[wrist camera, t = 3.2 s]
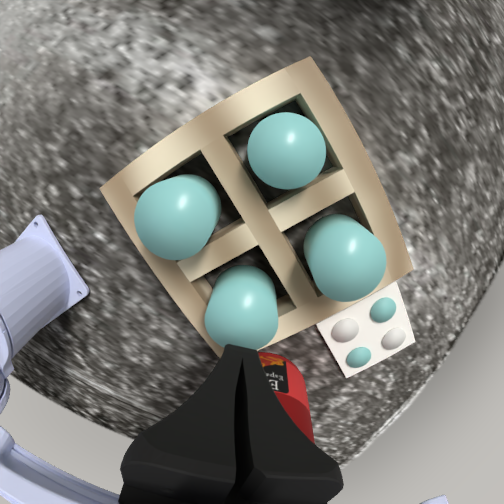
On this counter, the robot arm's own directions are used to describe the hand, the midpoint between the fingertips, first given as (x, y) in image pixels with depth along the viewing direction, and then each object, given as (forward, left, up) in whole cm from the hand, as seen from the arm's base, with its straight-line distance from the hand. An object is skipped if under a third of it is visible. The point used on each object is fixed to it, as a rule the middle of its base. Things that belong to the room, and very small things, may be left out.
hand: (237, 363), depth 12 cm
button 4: (+6, +6, -9) cm, 13 cm away
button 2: (0, +6, -7) cm, 10 cm away
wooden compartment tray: (+3, +3, -9) cm, 10 cm away
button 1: (0, 0, -7) cm, 7 cm away
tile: (+6, -10, -9) cm, 15 cm away
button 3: (+6, 0, -7) cm, 10 cm away
